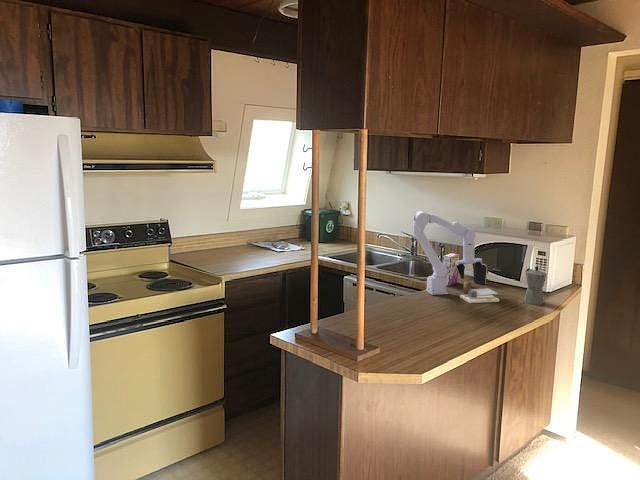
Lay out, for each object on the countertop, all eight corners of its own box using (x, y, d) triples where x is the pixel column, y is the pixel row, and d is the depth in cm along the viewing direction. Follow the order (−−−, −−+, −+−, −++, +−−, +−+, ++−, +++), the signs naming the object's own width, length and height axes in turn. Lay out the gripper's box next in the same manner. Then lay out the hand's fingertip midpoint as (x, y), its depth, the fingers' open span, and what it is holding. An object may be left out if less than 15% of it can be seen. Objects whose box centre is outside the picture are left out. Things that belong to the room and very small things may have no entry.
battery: (488, 284, 291) (489, 264, 289) (484, 285, 288) (486, 265, 286) (476, 281, 296) (478, 262, 294) (473, 282, 293) (474, 262, 291)
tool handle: (465, 294, 268) (466, 283, 267) (462, 292, 272) (462, 281, 271) (471, 294, 269) (472, 283, 268) (468, 292, 273) (469, 281, 272)
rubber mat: (480, 295, 267) (480, 294, 267) (470, 290, 276) (471, 289, 276) (498, 295, 269) (498, 293, 269) (488, 289, 279) (488, 288, 278)
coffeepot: (550, 306, 252) (553, 269, 248) (531, 306, 250) (535, 269, 247) (533, 297, 267) (536, 262, 263) (515, 297, 265) (518, 262, 262)
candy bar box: (449, 286, 284) (451, 257, 281) (440, 284, 287) (442, 255, 284) (457, 282, 293) (459, 254, 290) (449, 281, 296) (451, 252, 293)
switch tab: (470, 298, 257) (471, 292, 257) (468, 296, 260) (468, 290, 260) (476, 297, 258) (476, 291, 257) (473, 296, 261) (473, 290, 260)
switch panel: (469, 303, 254) (469, 299, 253) (459, 297, 263) (460, 293, 263) (499, 301, 257) (499, 298, 257) (488, 296, 267) (488, 292, 266)
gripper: (460, 254, 261) (460, 280, 264) (485, 251, 265) (485, 277, 267) (452, 252, 268) (453, 277, 270) (477, 249, 272) (477, 274, 274)
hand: (468, 277), depth 269 cm, fingers open, 7 cm apart
